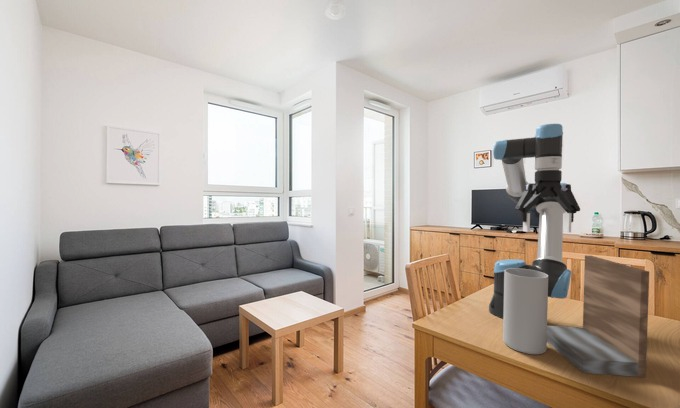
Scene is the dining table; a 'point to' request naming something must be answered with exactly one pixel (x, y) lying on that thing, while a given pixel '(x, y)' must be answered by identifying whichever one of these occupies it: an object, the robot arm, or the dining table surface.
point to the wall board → (608, 321)
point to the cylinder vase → (525, 310)
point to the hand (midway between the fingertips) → (546, 231)
